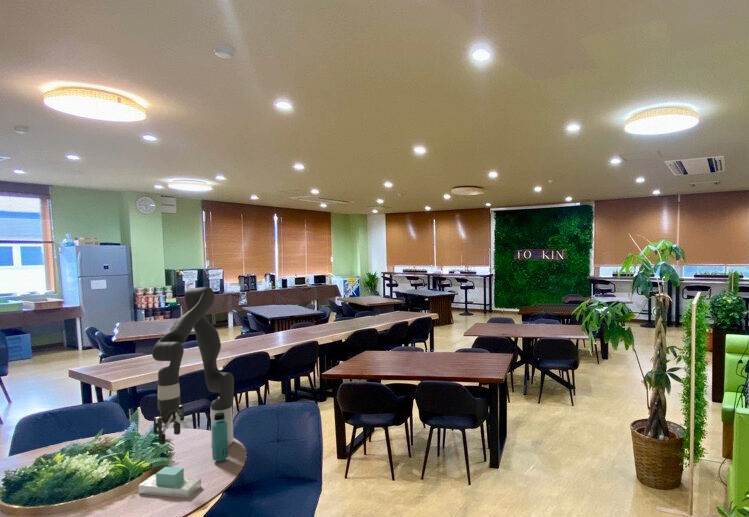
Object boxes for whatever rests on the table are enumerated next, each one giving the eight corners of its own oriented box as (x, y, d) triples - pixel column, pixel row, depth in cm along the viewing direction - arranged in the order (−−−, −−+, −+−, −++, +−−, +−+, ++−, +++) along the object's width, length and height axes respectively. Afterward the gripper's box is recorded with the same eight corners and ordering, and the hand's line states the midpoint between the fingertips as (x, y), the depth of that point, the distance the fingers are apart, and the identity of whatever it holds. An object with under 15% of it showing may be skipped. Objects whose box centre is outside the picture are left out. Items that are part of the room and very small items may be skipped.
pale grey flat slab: (153, 482, 162) (153, 474, 162) (200, 486, 158) (200, 478, 158) (138, 493, 154) (138, 485, 154) (187, 498, 150) (187, 489, 150)
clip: (156, 491, 154) (156, 473, 155) (165, 483, 160) (165, 466, 160) (174, 493, 153) (174, 475, 153) (183, 485, 158) (183, 468, 158)
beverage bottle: (223, 465, 175) (222, 416, 175) (208, 463, 176) (208, 415, 176) (231, 458, 181) (230, 411, 181) (217, 456, 182) (216, 410, 183)
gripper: (172, 389, 165) (173, 430, 165) (146, 401, 151) (147, 446, 151) (189, 389, 163) (190, 431, 163) (165, 402, 149) (166, 448, 149)
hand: (169, 438), depth 157 cm, fingers open, 8 cm apart
